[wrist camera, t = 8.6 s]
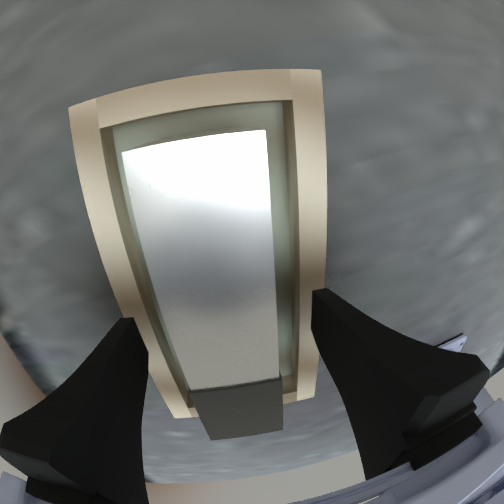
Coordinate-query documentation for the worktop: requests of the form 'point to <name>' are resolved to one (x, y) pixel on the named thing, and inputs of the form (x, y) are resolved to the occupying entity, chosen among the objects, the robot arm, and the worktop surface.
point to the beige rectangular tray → (281, 197)
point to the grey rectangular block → (214, 270)
